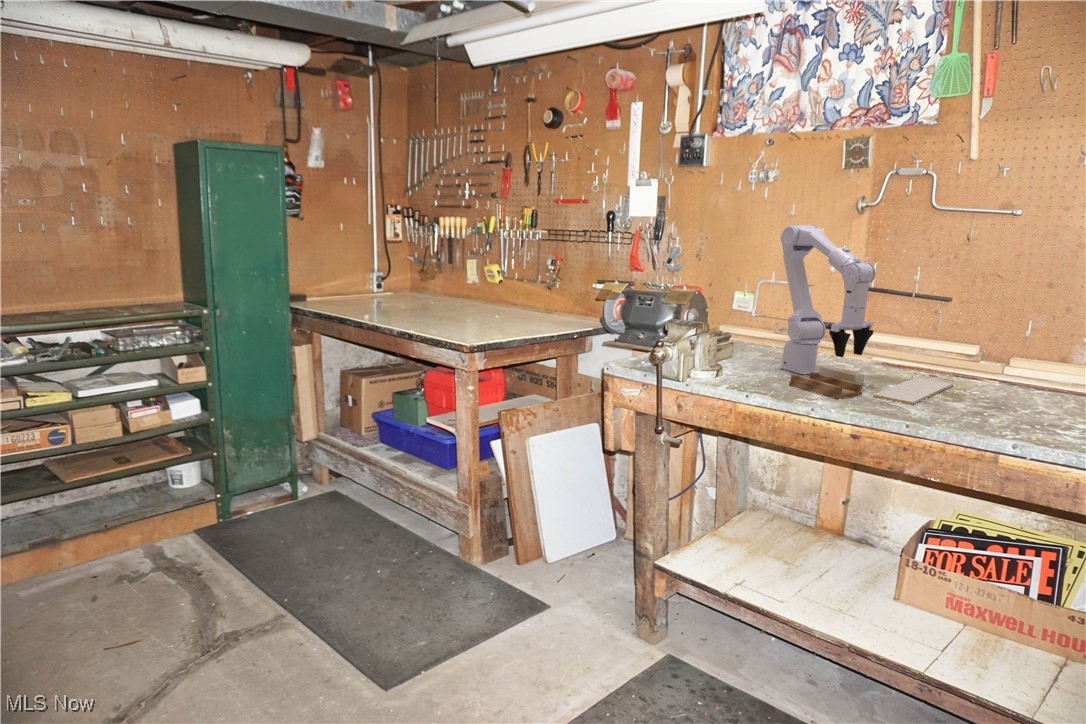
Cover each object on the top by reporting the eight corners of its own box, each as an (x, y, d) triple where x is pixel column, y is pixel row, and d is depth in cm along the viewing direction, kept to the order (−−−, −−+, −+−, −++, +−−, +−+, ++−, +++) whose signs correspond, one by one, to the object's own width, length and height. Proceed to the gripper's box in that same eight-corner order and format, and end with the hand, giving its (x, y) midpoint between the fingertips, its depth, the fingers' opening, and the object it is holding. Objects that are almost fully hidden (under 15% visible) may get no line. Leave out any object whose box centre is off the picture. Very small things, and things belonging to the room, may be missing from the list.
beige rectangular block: (818, 380, 199) (819, 366, 198) (826, 378, 201) (828, 365, 200) (853, 389, 189) (855, 375, 188) (862, 388, 190) (864, 374, 190)
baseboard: (863, 397, 182) (911, 407, 173) (864, 387, 181) (913, 396, 173) (907, 380, 203) (952, 388, 194) (909, 370, 202) (954, 378, 193)
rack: (788, 385, 191) (790, 374, 190) (812, 381, 195) (813, 371, 195) (837, 399, 177) (838, 388, 177) (861, 395, 182) (862, 384, 181)
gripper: (849, 310, 182) (843, 360, 185) (884, 307, 188) (878, 356, 191) (827, 306, 188) (821, 355, 191) (862, 304, 195) (856, 351, 198)
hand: (848, 355), depth 192 cm, fingers open, 7 cm apart
